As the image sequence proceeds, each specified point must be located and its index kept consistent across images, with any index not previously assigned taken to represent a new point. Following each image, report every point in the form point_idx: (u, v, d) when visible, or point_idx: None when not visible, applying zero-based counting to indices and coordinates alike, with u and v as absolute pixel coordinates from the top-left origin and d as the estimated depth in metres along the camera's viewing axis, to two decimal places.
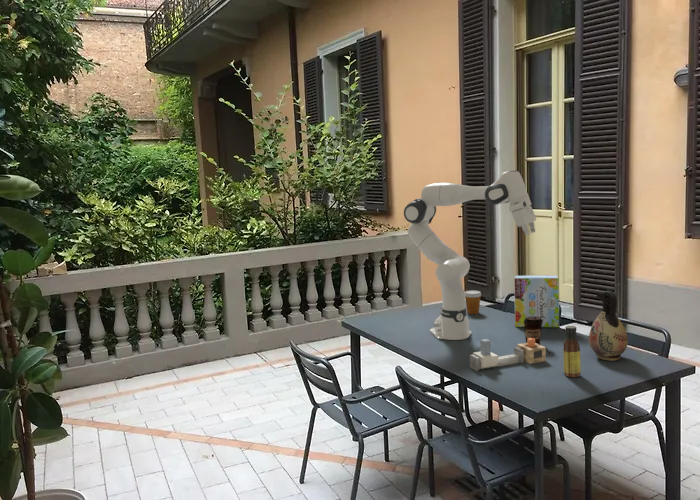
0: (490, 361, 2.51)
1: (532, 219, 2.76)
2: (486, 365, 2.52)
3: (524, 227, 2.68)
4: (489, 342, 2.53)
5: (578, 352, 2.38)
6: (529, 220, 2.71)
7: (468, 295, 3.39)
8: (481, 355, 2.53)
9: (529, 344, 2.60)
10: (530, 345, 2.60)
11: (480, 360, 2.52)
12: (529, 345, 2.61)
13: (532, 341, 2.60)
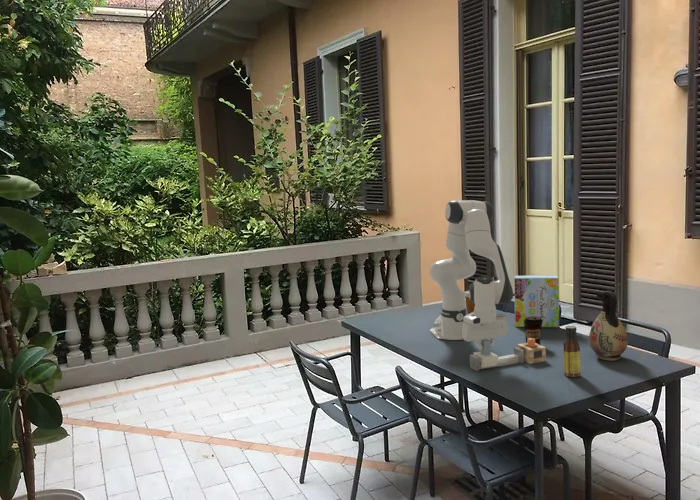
0: (490, 361, 2.51)
1: (494, 335, 2.53)
2: (486, 365, 2.52)
3: (477, 341, 2.52)
4: (489, 342, 2.53)
5: (578, 352, 2.38)
6: (483, 337, 2.51)
7: (468, 295, 3.39)
8: (481, 355, 2.53)
9: (529, 344, 2.60)
10: (530, 345, 2.60)
11: (480, 360, 2.52)
12: (529, 345, 2.61)
13: (532, 341, 2.60)
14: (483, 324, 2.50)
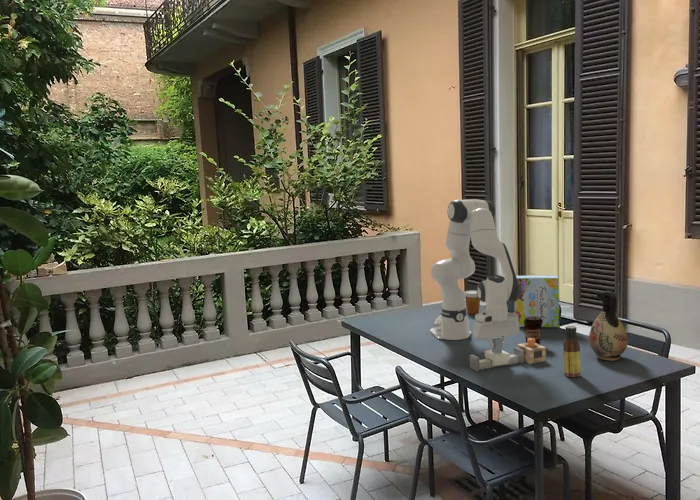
0: (502, 359, 2.53)
1: (506, 333, 2.55)
2: (498, 363, 2.54)
3: (488, 339, 2.54)
4: (500, 340, 2.54)
5: (578, 352, 2.38)
6: (494, 335, 2.53)
7: (468, 295, 3.39)
8: (492, 353, 2.55)
9: (529, 344, 2.60)
10: (530, 345, 2.60)
11: (492, 358, 2.54)
12: (529, 345, 2.61)
13: (532, 341, 2.60)
14: (495, 322, 2.52)
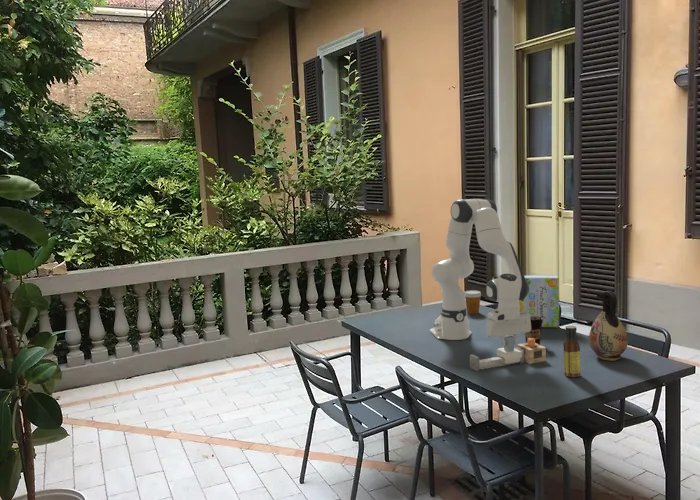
0: (514, 357, 2.55)
1: (518, 331, 2.56)
2: (510, 361, 2.55)
3: (500, 337, 2.56)
4: (513, 338, 2.56)
5: (578, 352, 2.38)
6: (507, 333, 2.55)
7: (468, 295, 3.39)
8: (505, 351, 2.57)
9: (529, 344, 2.60)
10: (530, 345, 2.60)
11: (504, 356, 2.56)
12: (529, 345, 2.61)
13: (532, 341, 2.60)
14: (507, 320, 2.53)
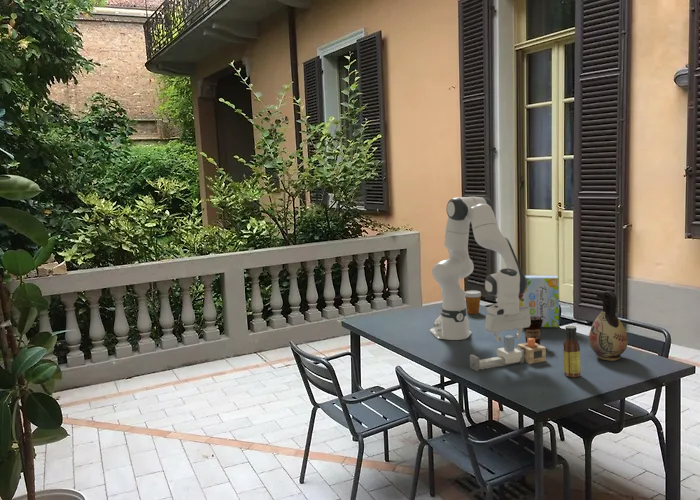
0: (514, 357, 2.55)
1: (517, 326, 2.56)
2: (510, 361, 2.55)
3: (494, 333, 2.55)
4: (513, 338, 2.56)
5: (578, 352, 2.38)
6: (506, 328, 2.55)
7: (468, 295, 3.39)
8: (505, 351, 2.57)
9: (529, 344, 2.60)
10: (530, 345, 2.60)
11: (504, 356, 2.56)
12: (529, 345, 2.61)
13: (532, 341, 2.60)
14: (506, 315, 2.53)
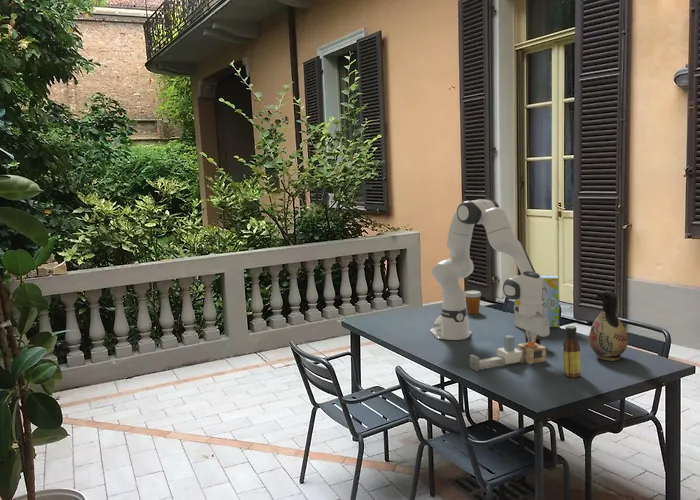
0: (514, 357, 2.55)
1: (532, 330, 2.57)
2: (510, 361, 2.55)
3: None
4: (513, 338, 2.56)
5: (578, 352, 2.38)
6: (525, 327, 2.62)
7: (468, 295, 3.39)
8: (505, 351, 2.57)
9: (529, 346, 2.60)
10: (530, 347, 2.60)
11: (504, 356, 2.56)
12: None
13: (532, 343, 2.60)
14: (524, 315, 2.61)
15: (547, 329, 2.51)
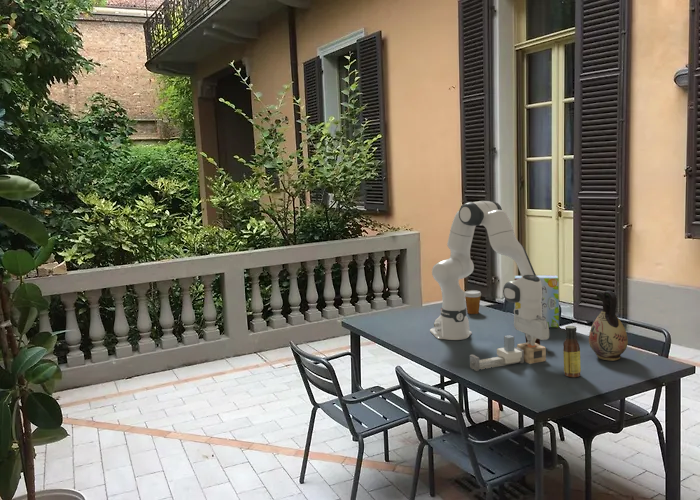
0: (514, 357, 2.55)
1: (532, 334, 2.57)
2: (510, 361, 2.55)
3: None
4: (513, 338, 2.56)
5: (578, 352, 2.38)
6: (524, 331, 2.62)
7: (468, 295, 3.39)
8: (505, 351, 2.57)
9: None
10: None
11: (504, 356, 2.56)
12: None
13: None
14: (523, 318, 2.61)
15: (547, 333, 2.51)
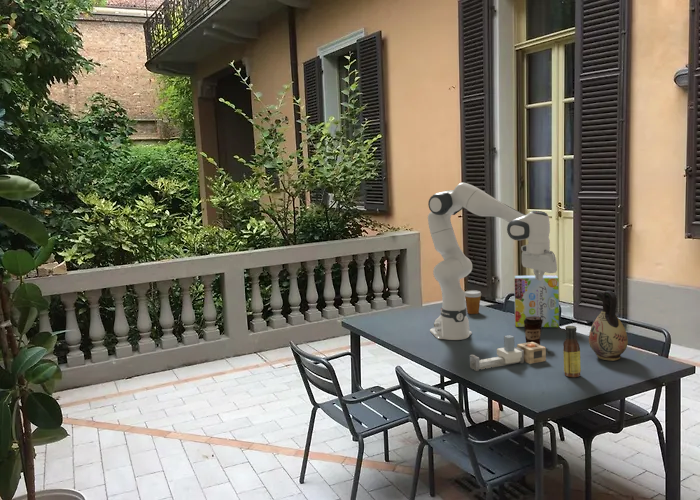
0: (514, 357, 2.55)
1: (540, 268, 2.60)
2: (510, 361, 2.55)
3: None
4: (513, 338, 2.56)
5: (578, 352, 2.38)
6: (532, 266, 2.65)
7: (468, 295, 3.39)
8: (505, 351, 2.57)
9: None
10: None
11: (504, 356, 2.56)
12: None
13: None
14: (531, 254, 2.64)
15: (554, 266, 2.54)
